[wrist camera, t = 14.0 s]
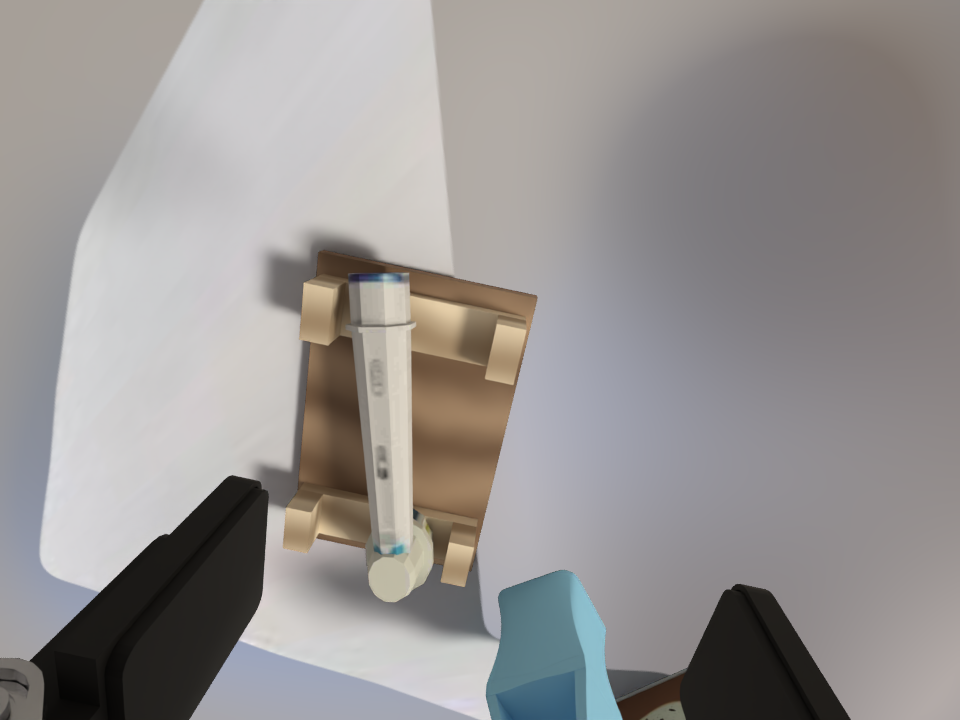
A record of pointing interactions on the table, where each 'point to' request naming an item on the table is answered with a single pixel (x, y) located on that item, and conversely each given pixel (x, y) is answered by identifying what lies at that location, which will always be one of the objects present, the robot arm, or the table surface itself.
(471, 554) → the v block cradle
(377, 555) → the white electric toothbrush
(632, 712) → the food container
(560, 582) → the vase
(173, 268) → the table surface
